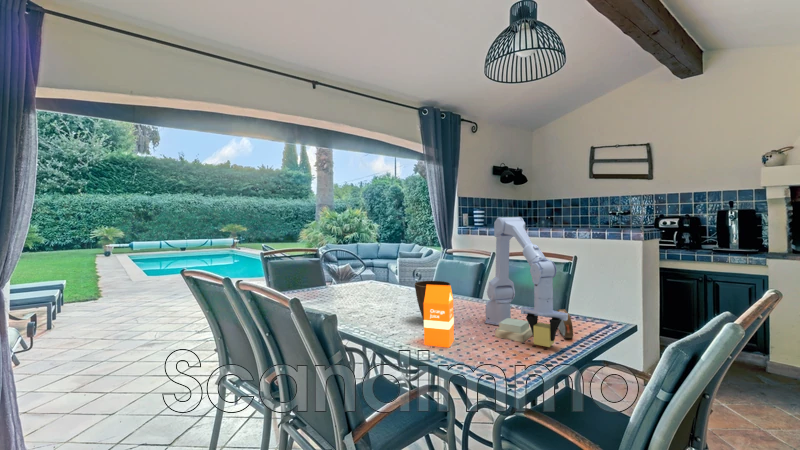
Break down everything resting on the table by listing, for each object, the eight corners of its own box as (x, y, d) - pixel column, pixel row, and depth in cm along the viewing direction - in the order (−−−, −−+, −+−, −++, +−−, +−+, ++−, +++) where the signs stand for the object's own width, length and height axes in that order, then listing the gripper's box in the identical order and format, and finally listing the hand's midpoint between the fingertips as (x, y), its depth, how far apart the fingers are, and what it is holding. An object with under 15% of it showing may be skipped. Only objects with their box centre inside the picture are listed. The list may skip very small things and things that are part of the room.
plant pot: (432, 314, 159) (431, 279, 159) (458, 321, 148) (457, 283, 147) (407, 321, 149) (407, 283, 149) (433, 329, 138) (433, 288, 138)
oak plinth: (495, 336, 128) (495, 329, 128) (506, 329, 135) (506, 323, 135) (523, 342, 121) (522, 335, 121) (532, 334, 129) (532, 327, 129)
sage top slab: (499, 329, 128) (499, 322, 128) (507, 324, 134) (507, 317, 134) (521, 333, 123) (521, 326, 123) (529, 328, 129) (529, 321, 129)
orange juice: (449, 347, 117) (448, 287, 117) (423, 345, 120) (422, 286, 120) (454, 340, 125) (453, 283, 125) (430, 337, 128) (429, 282, 128)
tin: (574, 341, 121) (573, 317, 121) (564, 341, 122) (563, 316, 122) (564, 328, 136) (564, 306, 136) (556, 328, 136) (555, 306, 136)
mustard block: (533, 343, 117) (533, 325, 116) (538, 339, 120) (538, 322, 120) (549, 347, 113) (549, 328, 113) (554, 342, 117) (553, 324, 117)
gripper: (517, 296, 118) (517, 337, 118) (563, 302, 109) (564, 346, 109) (524, 293, 124) (525, 331, 124) (569, 298, 114) (569, 340, 115)
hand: (543, 338), depth 117 cm, fingers closed on mustard block, 5 cm apart
